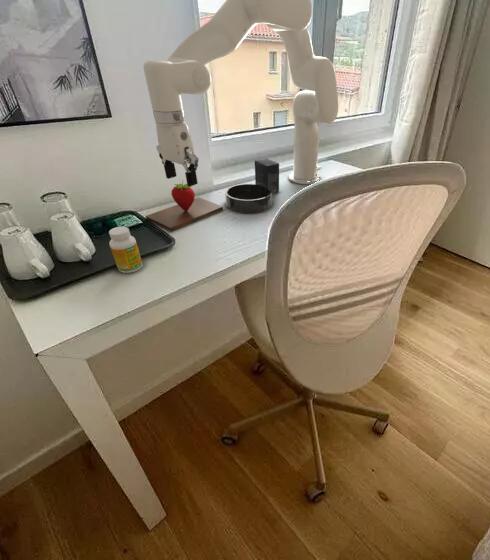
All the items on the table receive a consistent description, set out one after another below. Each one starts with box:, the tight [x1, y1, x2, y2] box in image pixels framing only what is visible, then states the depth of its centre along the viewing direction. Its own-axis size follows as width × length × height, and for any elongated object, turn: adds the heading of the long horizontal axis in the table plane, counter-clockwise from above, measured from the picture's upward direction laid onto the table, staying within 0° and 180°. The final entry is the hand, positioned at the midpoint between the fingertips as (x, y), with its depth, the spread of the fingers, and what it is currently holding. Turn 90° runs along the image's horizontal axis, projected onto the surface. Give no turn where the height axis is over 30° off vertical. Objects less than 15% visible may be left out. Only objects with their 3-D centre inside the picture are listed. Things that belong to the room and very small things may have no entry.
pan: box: [224, 183, 273, 215], centre depth 108 cm, size 15×15×4 cm
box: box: [254, 158, 280, 195], centre depth 117 cm, size 8×6×11 cm
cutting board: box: [145, 196, 224, 232], centre depth 100 cm, size 20×12×1 cm, turn 144°
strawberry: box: [171, 181, 196, 211], centre depth 97 cm, size 6×8×10 cm
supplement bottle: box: [108, 226, 143, 274], centre depth 73 cm, size 5×5×10 cm
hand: (182, 181), depth 94 cm, fingers open, 9 cm apart
